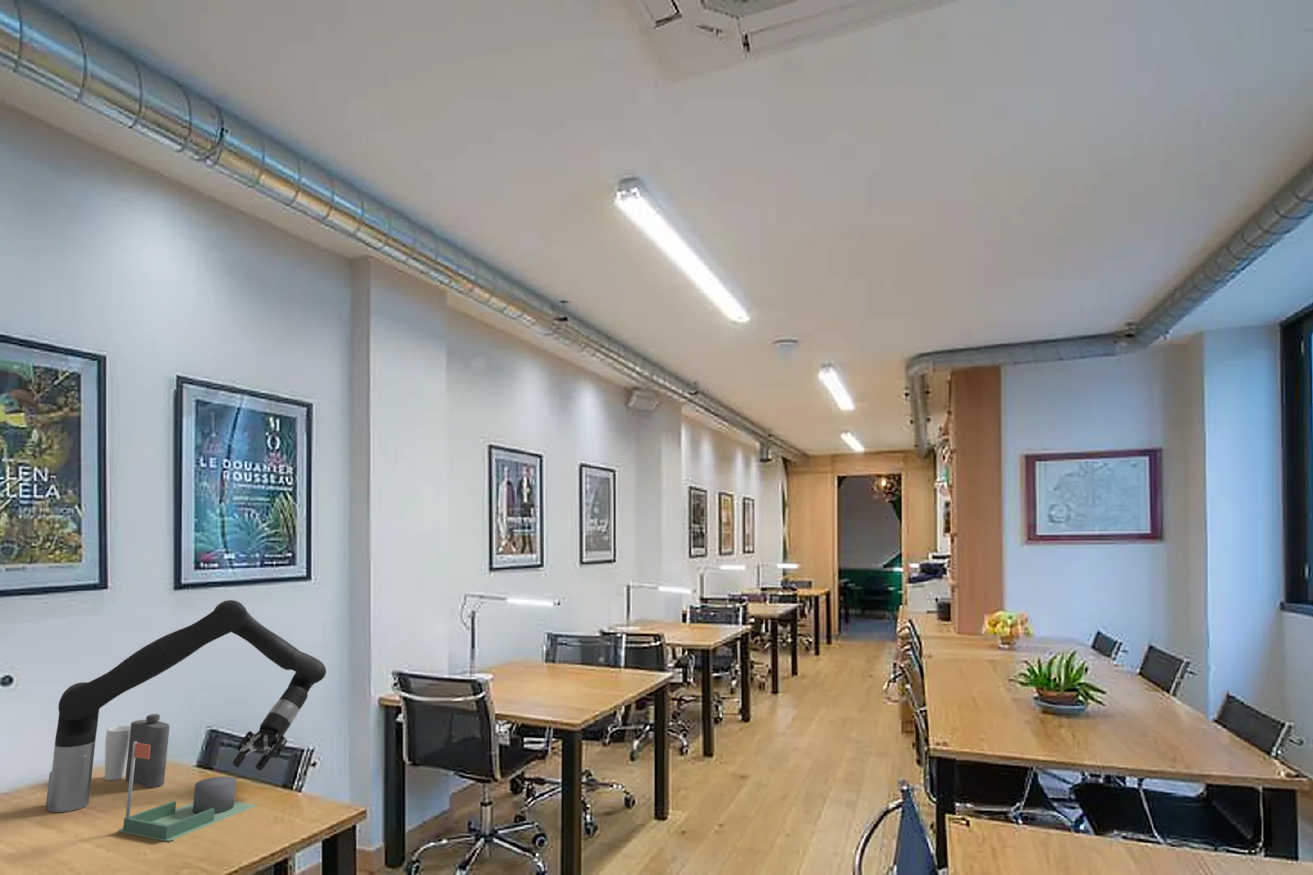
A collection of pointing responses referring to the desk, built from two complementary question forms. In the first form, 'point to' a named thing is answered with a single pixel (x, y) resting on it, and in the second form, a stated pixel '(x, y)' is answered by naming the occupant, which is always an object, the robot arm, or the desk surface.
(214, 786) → the grey domed cylinder
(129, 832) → the mini golf green
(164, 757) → the flask
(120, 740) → the drinking glass
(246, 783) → the desk surface
